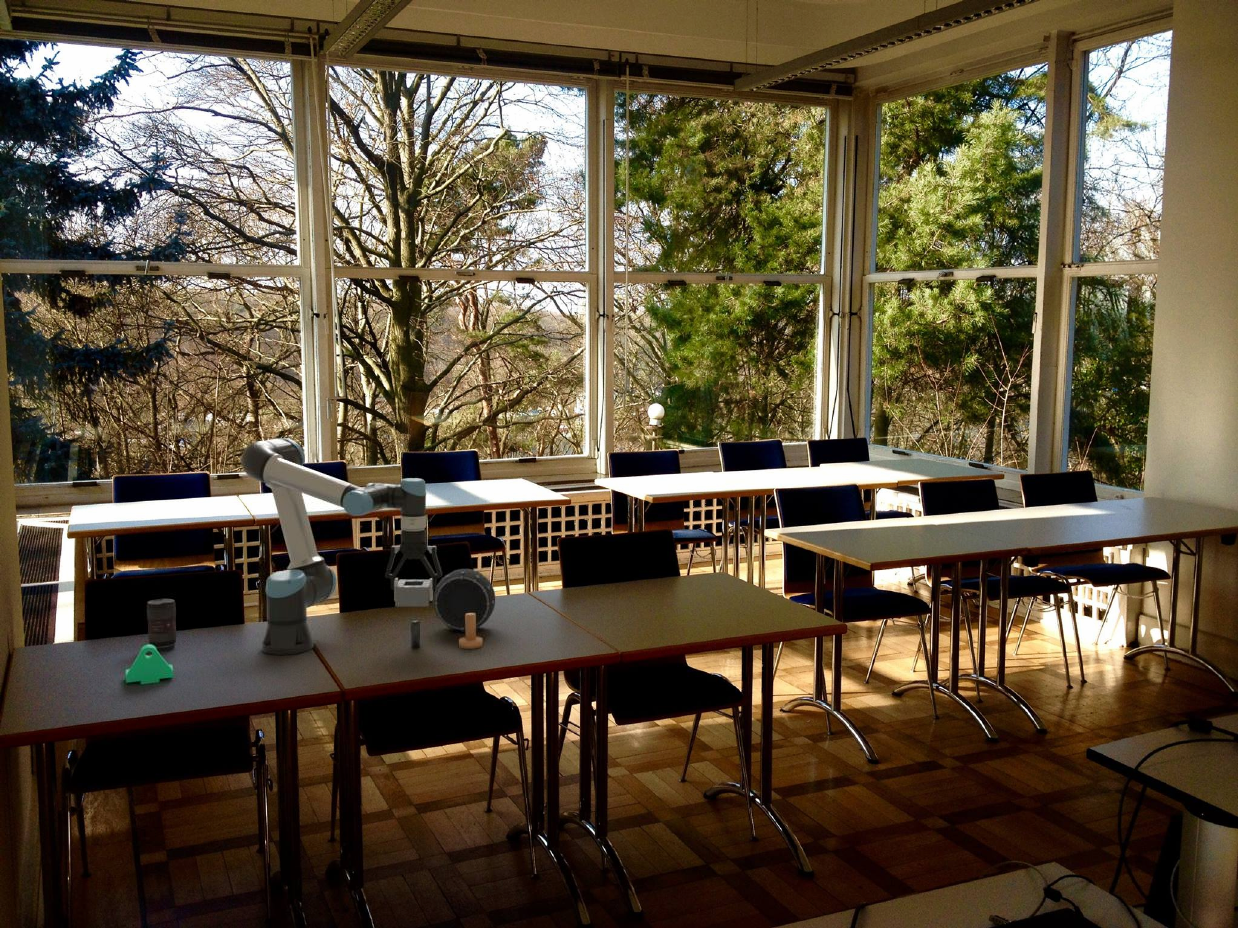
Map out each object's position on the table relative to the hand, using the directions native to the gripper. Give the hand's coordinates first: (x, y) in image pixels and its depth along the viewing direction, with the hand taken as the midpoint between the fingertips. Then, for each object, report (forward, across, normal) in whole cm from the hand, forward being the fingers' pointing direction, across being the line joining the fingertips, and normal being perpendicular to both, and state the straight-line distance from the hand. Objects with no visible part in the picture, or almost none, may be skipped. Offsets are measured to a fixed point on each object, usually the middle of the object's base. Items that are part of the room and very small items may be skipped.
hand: (413, 599), depth 328 cm
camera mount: (+16, -70, -27) cm, 77 cm away
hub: (+15, +18, 0) cm, 23 cm away
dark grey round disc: (+15, +15, +19) cm, 28 cm away
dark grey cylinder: (+16, -76, +3) cm, 78 cm away
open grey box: (+1, 0, 0) cm, 1 cm away
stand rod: (+15, 0, 0) cm, 15 cm away
